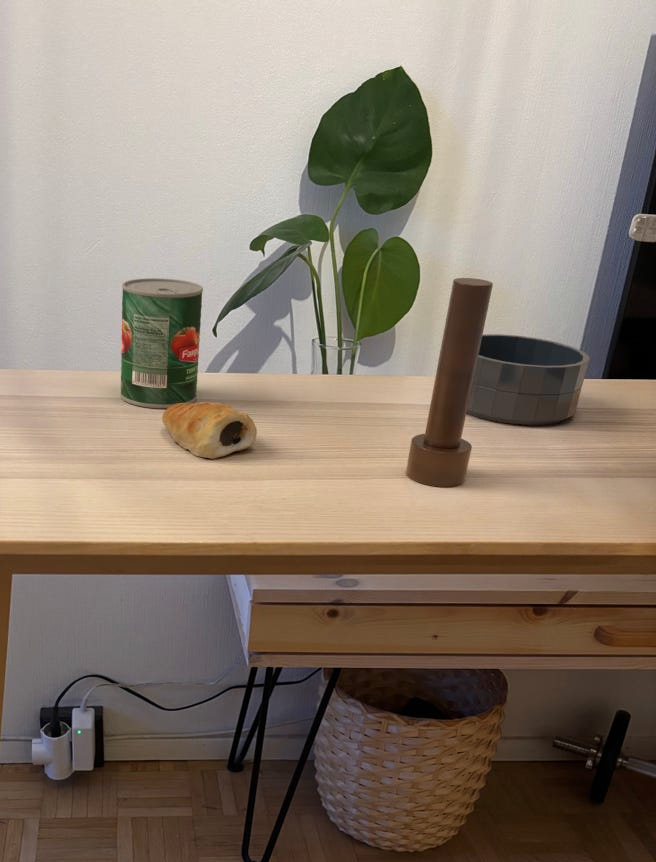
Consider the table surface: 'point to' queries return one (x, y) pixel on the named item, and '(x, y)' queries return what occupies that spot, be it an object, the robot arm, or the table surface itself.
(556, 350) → the bowl
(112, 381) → the table surface
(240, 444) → the pastry
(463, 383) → the stirrer
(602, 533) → the table surface
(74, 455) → the table surface
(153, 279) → the canned tomato
